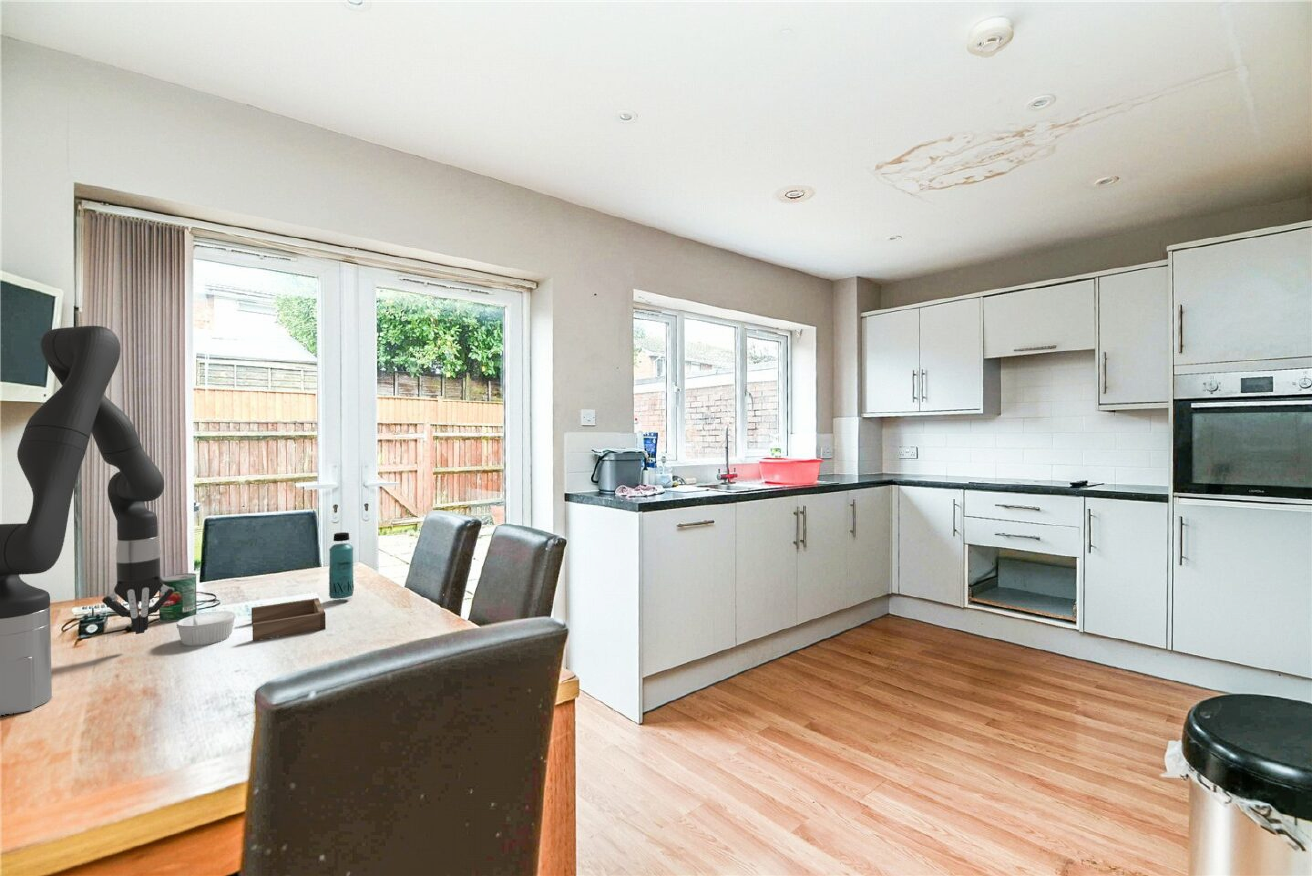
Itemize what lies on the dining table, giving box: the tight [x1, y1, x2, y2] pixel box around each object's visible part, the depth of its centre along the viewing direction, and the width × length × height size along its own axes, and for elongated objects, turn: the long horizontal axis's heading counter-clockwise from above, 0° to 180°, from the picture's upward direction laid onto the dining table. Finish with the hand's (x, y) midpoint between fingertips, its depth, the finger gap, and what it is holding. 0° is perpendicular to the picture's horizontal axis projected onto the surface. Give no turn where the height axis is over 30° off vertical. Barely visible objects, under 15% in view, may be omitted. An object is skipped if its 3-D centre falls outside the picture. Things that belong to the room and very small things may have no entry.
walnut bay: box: [250, 597, 327, 642], centre depth 153 cm, size 16×15×4 cm
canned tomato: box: [158, 572, 198, 623], centre depth 160 cm, size 8×8×11 cm
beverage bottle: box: [328, 532, 355, 600], centre depth 175 cm, size 6×7×20 cm
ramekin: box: [176, 610, 236, 647], centre depth 143 cm, size 11×11×5 cm
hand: (140, 632), depth 137 cm, fingers closed
